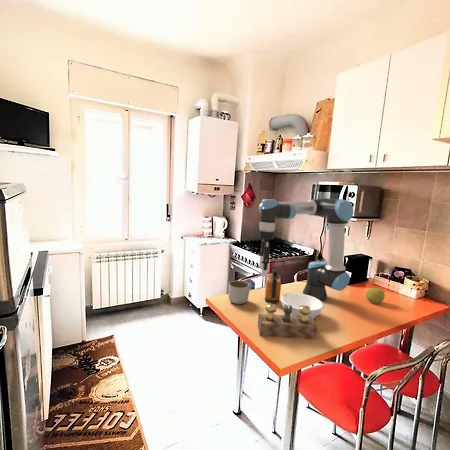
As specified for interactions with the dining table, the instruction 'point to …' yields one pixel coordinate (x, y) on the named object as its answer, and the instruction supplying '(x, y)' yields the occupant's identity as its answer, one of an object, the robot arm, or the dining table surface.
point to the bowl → (302, 303)
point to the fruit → (375, 295)
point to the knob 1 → (270, 311)
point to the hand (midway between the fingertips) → (262, 271)
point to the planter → (238, 291)
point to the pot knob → (287, 313)
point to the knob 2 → (304, 313)
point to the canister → (273, 287)
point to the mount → (286, 327)
